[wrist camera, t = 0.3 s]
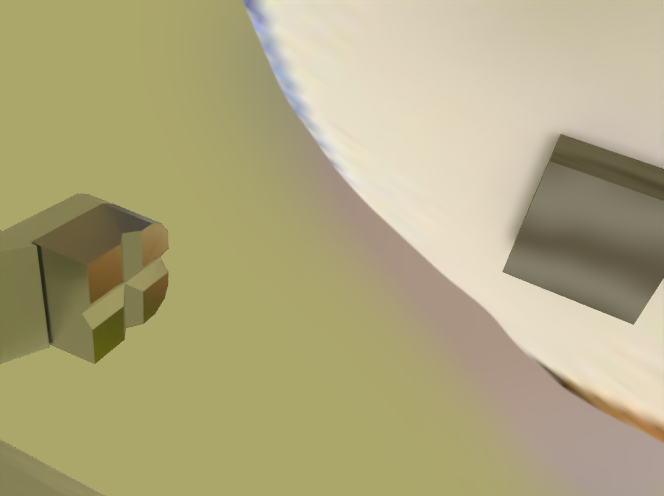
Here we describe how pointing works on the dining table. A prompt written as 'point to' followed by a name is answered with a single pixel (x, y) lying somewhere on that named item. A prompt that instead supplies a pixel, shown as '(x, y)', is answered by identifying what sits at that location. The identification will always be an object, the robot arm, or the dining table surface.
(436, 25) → the dining table surface
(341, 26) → the dining table surface
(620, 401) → the dining table surface
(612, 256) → the charcoal block
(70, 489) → the robot arm
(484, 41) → the dining table surface
